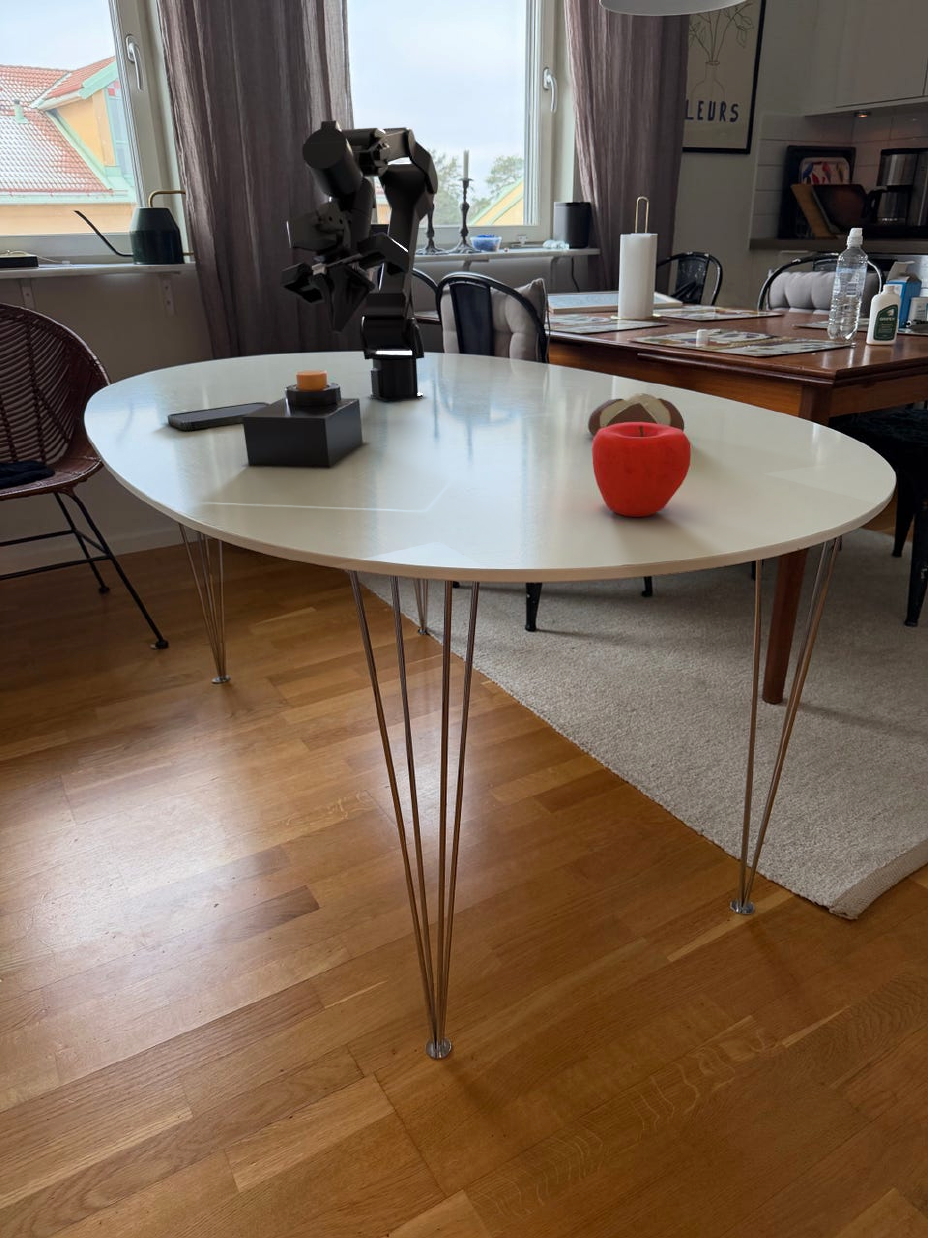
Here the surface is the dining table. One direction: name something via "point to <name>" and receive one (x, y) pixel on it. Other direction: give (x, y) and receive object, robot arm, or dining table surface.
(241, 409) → the phone
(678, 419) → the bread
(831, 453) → the dining table surface
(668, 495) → the apple
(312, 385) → the button
